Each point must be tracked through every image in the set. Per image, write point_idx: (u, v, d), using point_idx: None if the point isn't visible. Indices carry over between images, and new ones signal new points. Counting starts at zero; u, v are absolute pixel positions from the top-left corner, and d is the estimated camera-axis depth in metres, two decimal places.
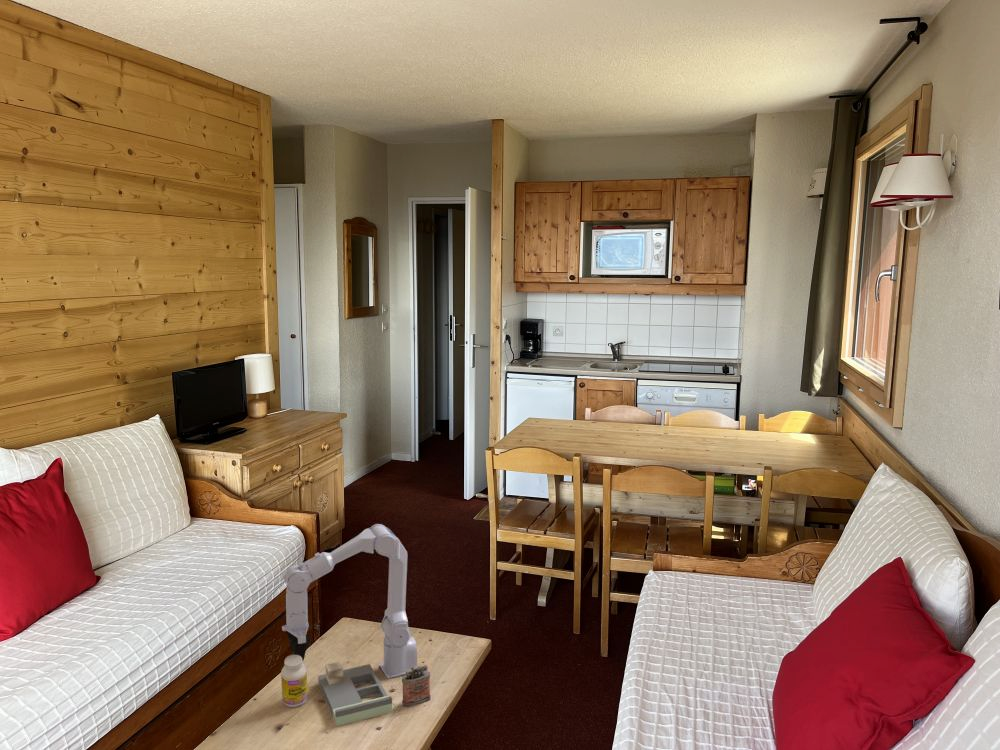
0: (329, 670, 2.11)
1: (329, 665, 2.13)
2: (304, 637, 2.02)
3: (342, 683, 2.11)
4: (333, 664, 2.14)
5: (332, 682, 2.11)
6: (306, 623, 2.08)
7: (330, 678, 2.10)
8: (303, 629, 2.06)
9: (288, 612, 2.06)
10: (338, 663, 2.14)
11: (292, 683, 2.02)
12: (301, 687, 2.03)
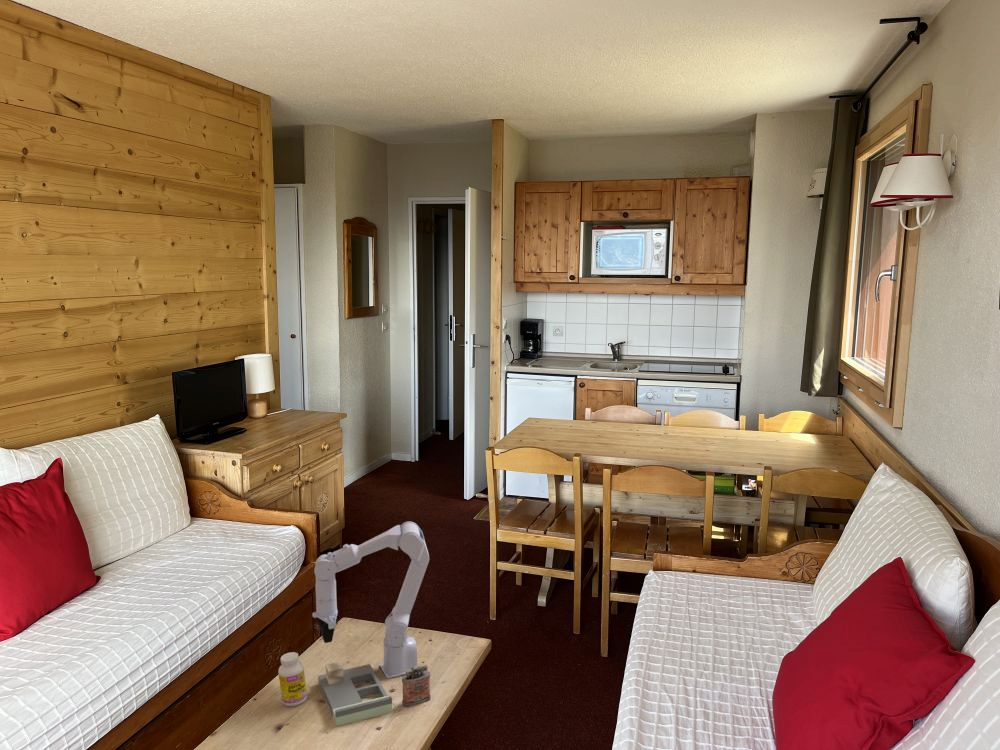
0: (329, 670, 2.11)
1: (329, 665, 2.13)
2: (334, 623, 2.11)
3: (342, 683, 2.11)
4: (333, 664, 2.14)
5: (332, 682, 2.11)
6: (335, 609, 2.17)
7: (330, 678, 2.10)
8: (333, 615, 2.15)
9: (316, 598, 2.15)
10: (338, 663, 2.14)
11: (291, 679, 2.03)
12: (300, 683, 2.04)
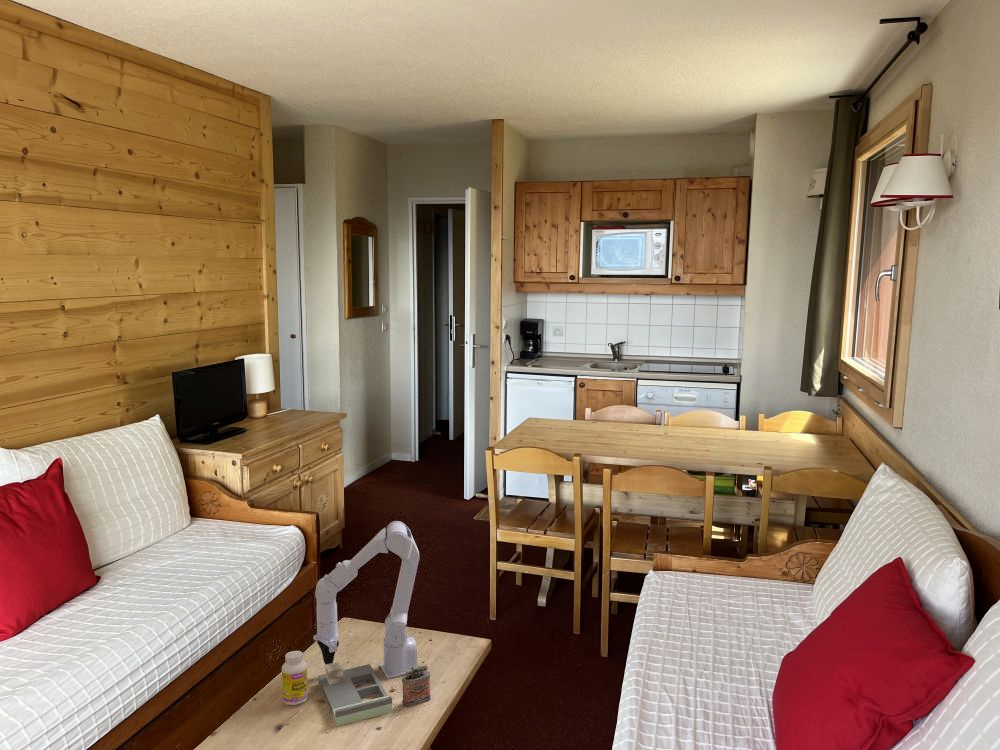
0: (329, 670, 2.11)
1: (329, 665, 2.13)
2: (335, 646, 2.12)
3: (342, 683, 2.11)
4: (333, 664, 2.14)
5: (332, 682, 2.11)
6: (336, 632, 2.18)
7: (330, 678, 2.10)
8: (333, 638, 2.16)
9: (317, 621, 2.16)
10: (338, 663, 2.14)
11: (295, 676, 2.04)
12: (303, 681, 2.05)
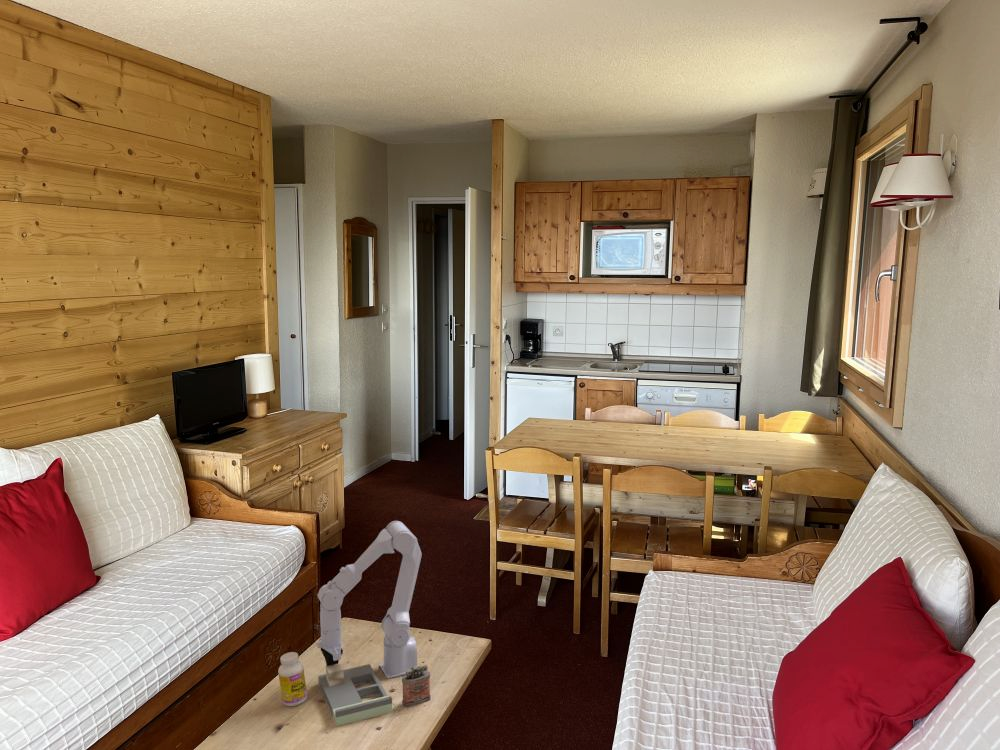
0: (329, 672, 2.10)
1: (329, 667, 2.12)
2: (339, 654, 2.08)
3: None
4: (334, 666, 2.13)
5: (332, 684, 2.10)
6: (340, 640, 2.13)
7: (330, 680, 2.10)
8: (337, 646, 2.12)
9: (322, 630, 2.11)
10: (339, 665, 2.13)
11: (293, 678, 2.03)
12: (302, 681, 2.05)
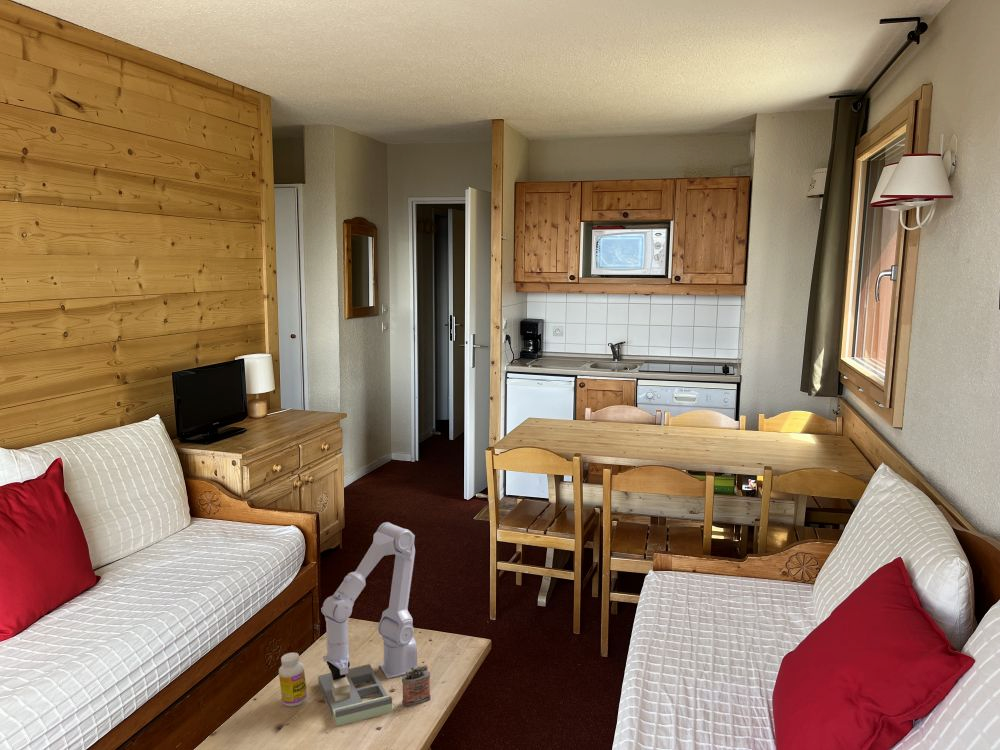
0: (335, 686, 2.02)
1: (336, 681, 2.05)
2: (346, 668, 2.01)
3: None
4: (340, 680, 2.06)
5: (339, 699, 2.03)
6: (347, 653, 2.06)
7: (336, 695, 2.02)
8: (344, 659, 2.05)
9: (332, 643, 2.03)
10: (345, 679, 2.06)
11: (295, 678, 2.03)
12: (303, 681, 2.05)
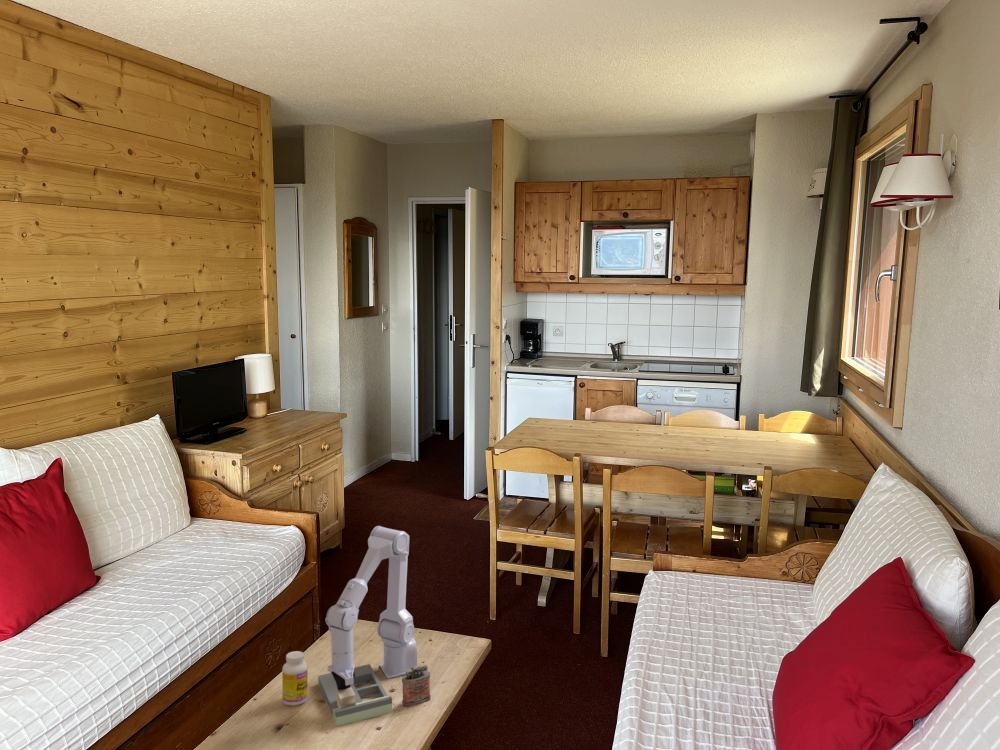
0: (341, 697, 1.98)
1: (341, 691, 2.00)
2: (352, 678, 1.96)
3: None
4: (345, 690, 2.01)
5: None
6: (352, 663, 2.01)
7: (342, 705, 1.98)
8: (349, 669, 2.00)
9: (339, 653, 1.98)
10: (350, 689, 2.01)
11: (300, 676, 2.04)
12: (306, 680, 2.06)
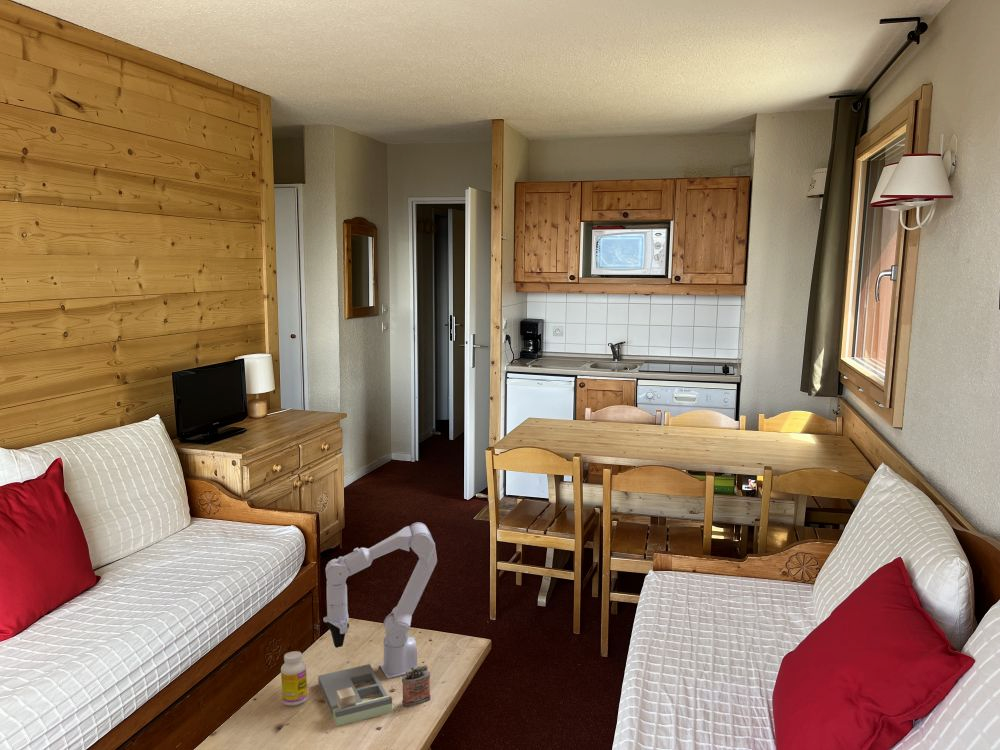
0: (341, 697, 1.98)
1: (341, 691, 2.00)
2: (346, 627, 2.11)
3: (342, 683, 2.11)
4: (345, 690, 2.01)
5: None
6: (346, 614, 2.16)
7: (342, 705, 1.98)
8: (344, 620, 2.15)
9: (328, 603, 2.14)
10: (350, 689, 2.01)
11: (301, 675, 2.04)
12: (306, 679, 2.07)
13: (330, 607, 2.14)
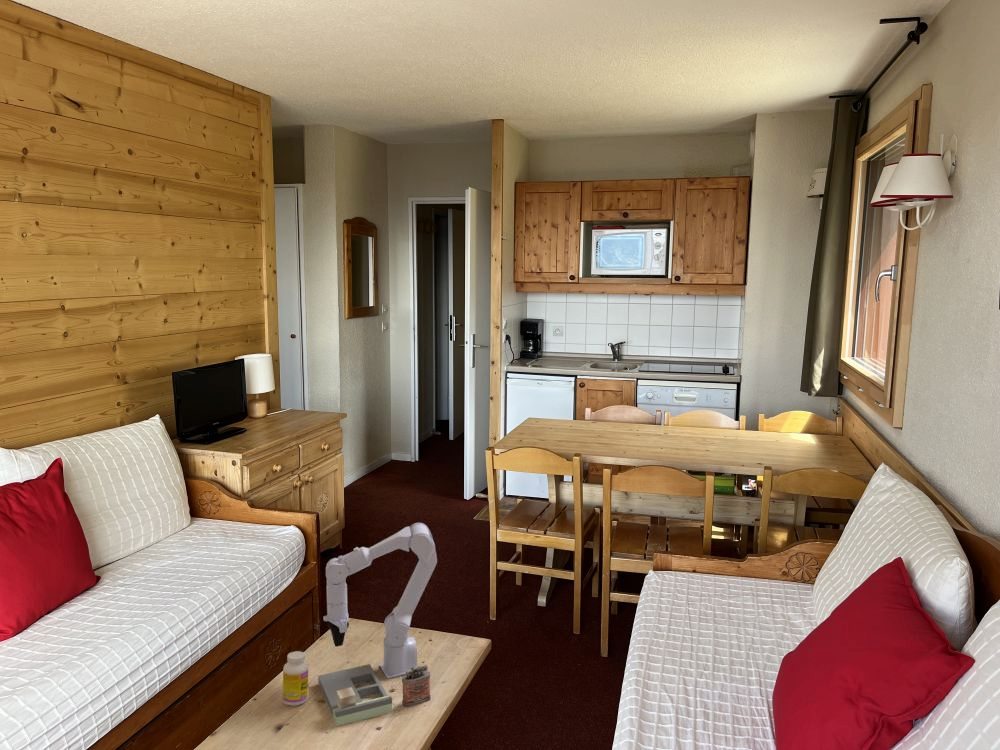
0: (341, 697, 1.98)
1: (341, 691, 2.00)
2: (345, 626, 2.11)
3: (342, 683, 2.11)
4: (345, 690, 2.01)
5: None
6: (346, 613, 2.17)
7: (342, 705, 1.98)
8: (344, 619, 2.15)
9: (328, 602, 2.15)
10: (350, 689, 2.01)
11: (304, 675, 2.05)
12: None
13: (330, 606, 2.14)
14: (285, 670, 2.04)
